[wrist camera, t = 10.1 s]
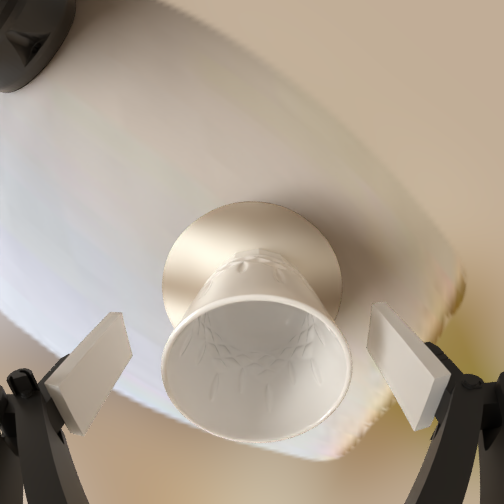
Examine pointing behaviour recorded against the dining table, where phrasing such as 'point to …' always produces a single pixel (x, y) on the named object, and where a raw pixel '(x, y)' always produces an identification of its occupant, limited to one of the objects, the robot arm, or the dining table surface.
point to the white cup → (256, 353)
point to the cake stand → (242, 239)
